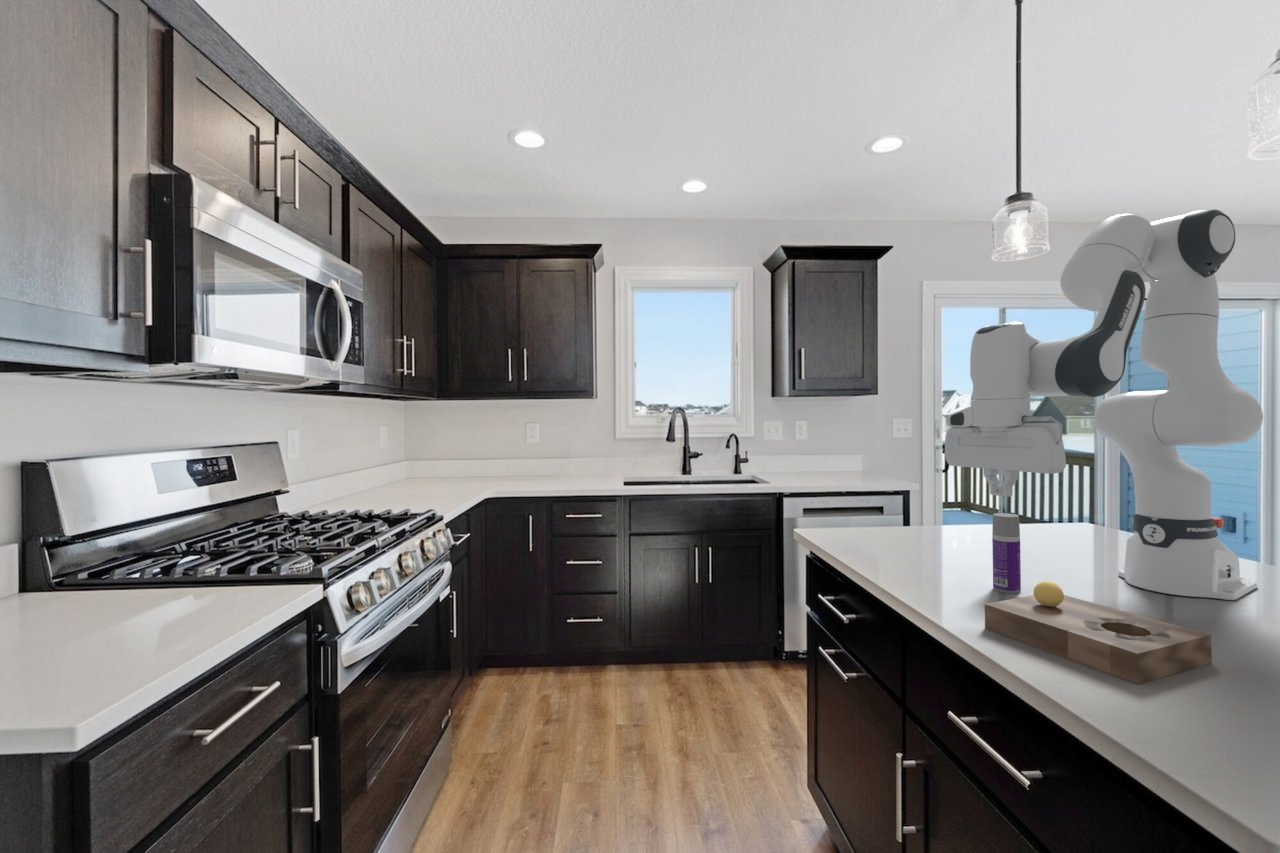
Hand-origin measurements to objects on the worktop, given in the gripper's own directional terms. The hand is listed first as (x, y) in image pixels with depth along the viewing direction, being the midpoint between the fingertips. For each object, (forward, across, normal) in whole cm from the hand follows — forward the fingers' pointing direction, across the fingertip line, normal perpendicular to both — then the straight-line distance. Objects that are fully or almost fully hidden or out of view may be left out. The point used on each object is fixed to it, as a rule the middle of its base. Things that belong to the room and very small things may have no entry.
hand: (1001, 495), depth 101 cm
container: (+21, +10, -14) cm, 27 cm away
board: (+21, -14, 0) cm, 25 cm away
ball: (+15, -8, 0) cm, 17 cm away
